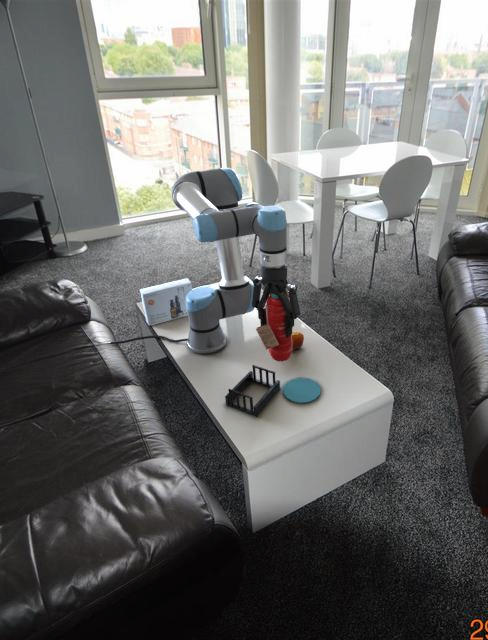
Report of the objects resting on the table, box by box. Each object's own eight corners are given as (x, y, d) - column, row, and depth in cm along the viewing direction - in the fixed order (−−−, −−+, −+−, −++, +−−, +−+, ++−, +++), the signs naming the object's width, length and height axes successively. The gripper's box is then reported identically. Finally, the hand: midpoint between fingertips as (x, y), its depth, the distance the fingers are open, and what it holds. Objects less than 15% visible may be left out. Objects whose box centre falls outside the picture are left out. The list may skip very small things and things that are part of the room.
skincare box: (149, 327, 188) (142, 294, 179) (146, 321, 192) (138, 288, 183) (196, 314, 197) (191, 281, 188) (192, 308, 200) (187, 277, 192)
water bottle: (269, 371, 136) (265, 300, 122) (255, 360, 141) (249, 290, 128) (299, 357, 142) (298, 287, 128) (285, 346, 147) (282, 278, 134)
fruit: (291, 353, 167) (286, 333, 167) (284, 353, 175) (278, 334, 174) (310, 348, 170) (305, 328, 170) (301, 348, 178) (296, 328, 177)
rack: (226, 405, 146) (223, 388, 142) (251, 379, 157) (249, 363, 153) (256, 417, 141) (255, 400, 137) (280, 389, 152) (279, 372, 148)
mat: (276, 396, 150) (276, 394, 149) (294, 375, 159) (294, 373, 159) (310, 408, 144) (310, 407, 144) (326, 385, 154) (326, 384, 153)
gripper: (235, 261, 125) (241, 328, 138) (300, 276, 116) (300, 346, 129) (250, 252, 131) (254, 318, 143) (313, 265, 122) (312, 334, 134)
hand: (276, 331), depth 136 cm, fingers closed on water bottle, 8 cm apart
